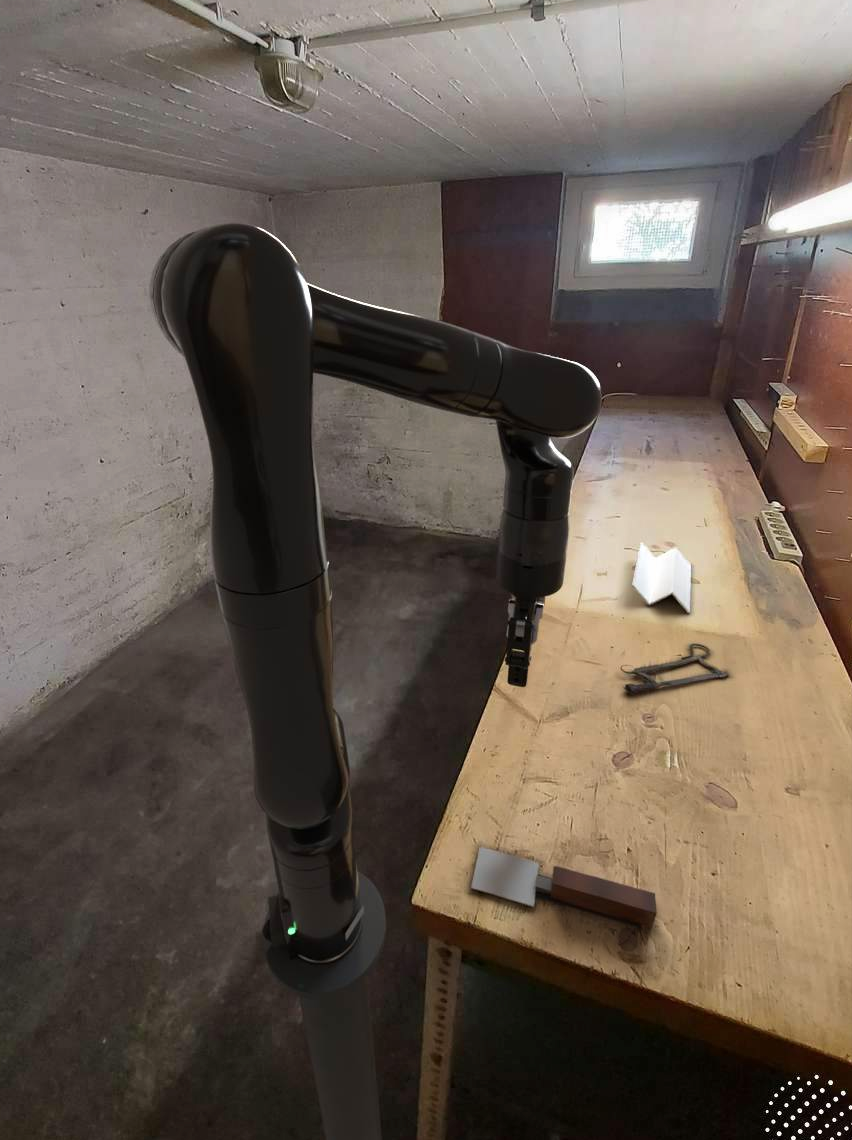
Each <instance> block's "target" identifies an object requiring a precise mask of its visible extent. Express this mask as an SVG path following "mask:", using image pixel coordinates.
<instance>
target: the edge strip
mask: <svg viewBox="0 0 852 1140" xmlns="http://www.w3.org/2000/svg"><path fill="white" fill-rule="evenodd" d="M538 876H541V877H545V878H548V879H552V877H550V876H545V875H543V874H542V875H541V874H539V873H538ZM535 898H539V899H542V900H545V901H548V902H550V903H551V902H552V903H554V904H558V905H561V906H565V907H568V908H572V909H574V910H579V911H582V912H586V913H588V914H592V915H595V916H598V917H602V918H606V919H608V920H613V921H616V922H618V923H623V924H626V925H630V926H633V927H636V928H639V929H642V928H643V925H639V924H636V923H632V922H629V921H626V920H622V919H619V918H615V917H612V916H609V915H605V914H602V913H598V912H595V911H592V910H588V909H585V908H581V907H578V906H575V905H571V904H568V903H564V902H561V901H557V900H554V899H551V898H550V894H546V893H543V892H540V891H536V895H535Z"/></svg>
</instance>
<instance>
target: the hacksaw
mask: <svg viewBox="0 0 852 1140" xmlns="http://www.w3.org/2000/svg"><path fill="white" fill-rule="evenodd" d="M693 646H696V647H700V648H701V647H702V648H704V649H706V651H707V652H706V653H704V654H701V655H700V654H698V655H695V656H694V650H693ZM689 651H690V654H689V655H688V656H682V657H681V658H680V660H674V661H669V662H664V663H660V664H653V665H647V666H641V667H636V668H634V669H633V670H631V671H626V670H625V669H623V667H626V666H628V667H631V665H630V664H623V665H621V666H620V668H619V669H620V671H622V672H623V673H625V674H629V675H637V677H640V678H643V679H645V680H647V681H648V683H647V682H646V683H637V684H635V683H626V684H625V686H622V688H623V690H625V692H627V693H628V694H630V695H635V693H639V692H644V691H649V690H650V691H651V690H656V689H659V688H661V687H669V686H675V685H680V684H686V683H687V684H688V683H692V682H697V681H698V682H699V681H702V680H708V679H715V678H726V676H731V674H730V673H729V672H728V671H726V670H723V671H722V670H720V669H718V668H717V667H715V666H713V665H711V664H709V663H708V662H706V661H705V660H704V658H705V659H706V658H707V656H709V655H710V649H709V648H708V646H706V645H703V644H700V643H691V644H690V645H689ZM695 662H698V663H699V664H701V665H702V666H704V667H706V668H707V669H710V672H712V673H707V674H700V675H695V676H689V677H684V678H683V677H682V678H678V679H672V680H667V681H660V682H658V681H656V680H655V676H653V677H651V676H650V675H648V674H647V673H648V672H654V671H659V670H664V669H668V668H673V667H674V668H675V667H679V666H684V665H687V664H690V663H695Z"/></svg>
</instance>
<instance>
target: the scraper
mask: <svg viewBox="0 0 852 1140" xmlns="http://www.w3.org/2000/svg"><path fill="white" fill-rule="evenodd" d="M539 864H540V863H539V862H538V861H534V860H530V859H526V858H523V857H519V856H515V855H512V854H509V853H506V852H501V851H498V850H494V849H490V848H486V847H484V846H479V847H478V852H477V858H476V862H475V867H474V872H473V876H472V881H471V886H470V889H472V890H475V891H478V892H482V893H485V894H488V895H492V896H495V897H498V898H500V899H504V900H505V899H506V900H509V901H512V902H515V903H518V904H522V905H525V906H528V907H532V908H535V904H536V897H535V895H536V891H540V892H543V893H546V894H550V898H551V899H554V900H557V901H561V902H564V903H568V904H571V905H575V906H578V907H581V908H585V909H588V910H592V911H595V912H598V913H602V914H605V915H609V916H612V917H615V918H619V919H622V920H626V921H629V922H632V923H636V924H639V925H642V927H647V928H650V929H653V927H654V924H655V920H656V917H657V901H656V900H657V899H656V893H655V892H653V891H649V890H647V889H646V890H645V889H642V888H638V887H634V886H631V885H627V884H624V883H620V882H616V881H614V880H609V879H605V878H603V877H599V876H594V875H591V874H587V873H584V872H580V871H577V870H574V869H569V868H566V867H562V866H558V865H553V868H552V874H551V878H552V879H548V878H545V877H541V876H538V874H539V866H540V865H539Z"/></svg>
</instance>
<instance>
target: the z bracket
mask: <svg viewBox="0 0 852 1140" xmlns="http://www.w3.org/2000/svg"><path fill="white" fill-rule="evenodd" d="M638 547H639V548H638V552H637V558H636V563H635V568H634V572H633V579H632V582H631V583H632V584H631V587H632V588H633V589H634V590H635V591H636V592H637V594H638V595H639V596H640V597H641V598H642V599H643V600H644V602H645V603H646V604H647V605H648V606H651V605H653V604H655V603H657V602H659V601H661V600H663V599H665V598H667V597H669V596H671V595H672V596H673V598H675V600H677V602H678V603H679V604H680V606H681V607H682V608H683V609H684V610H685V611H686V612H687V614H690V613H691V578H692V577H691V572H692V565H691V563H690V562H689V561H688V560H687V558H686V557H685V555H683V553H682V552H681V551H680V550H679V549H678V547H676V546H674V547H673V548H671V549H669V550H667V551H666V552H663V553H662V554H660V555H658V556H655V555H654V554H653V552H651V550H649V548H648V547H647V546H646V545H645V543H644V542H643V541H640V544H639V546H638Z"/></svg>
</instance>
